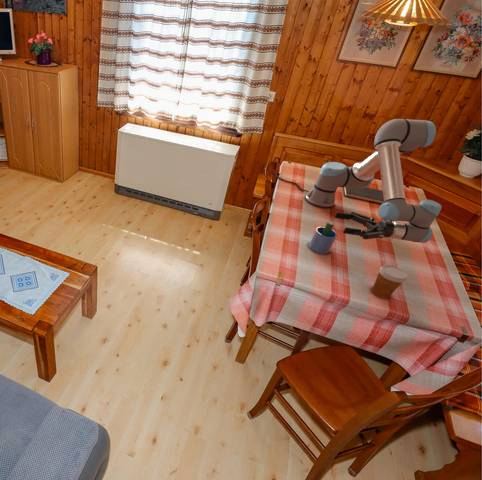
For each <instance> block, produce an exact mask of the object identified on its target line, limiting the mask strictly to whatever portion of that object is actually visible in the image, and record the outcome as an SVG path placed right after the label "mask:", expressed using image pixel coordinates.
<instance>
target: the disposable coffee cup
mask: <svg viewBox="0 0 482 480" xmlns="http://www.w3.org/2000/svg"><path fill="white" fill-rule="evenodd" d="M378 270H379V271H378V274H377V276H376V278H375V281H374V284H373V286H372V289H371V292H372V294H373V295H375V296H377V297H378V298H380V299H381V298H382V299H389V297H390V296H391V295H392V294H394V292H395V291H396V290H397V289H398V288H399V287H400V286H401V284H403V283H404V282H406V281H407V278H408V275H407V272H405V270H403V269H402V268H400V267H398V266H396V265H393V264H384V265H382V266H380V267H379V269H378Z"/></svg>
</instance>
